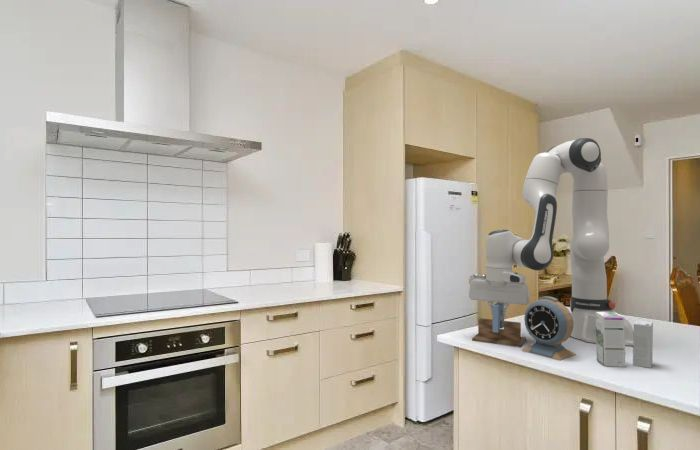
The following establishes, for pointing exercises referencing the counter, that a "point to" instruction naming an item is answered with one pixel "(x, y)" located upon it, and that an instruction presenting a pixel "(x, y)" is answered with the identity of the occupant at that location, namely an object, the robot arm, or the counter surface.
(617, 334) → the syrup box
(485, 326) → the walnut joint base
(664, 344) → the counter surface
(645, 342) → the skincare box
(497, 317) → the blue slotted plate
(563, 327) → the alarm clock
